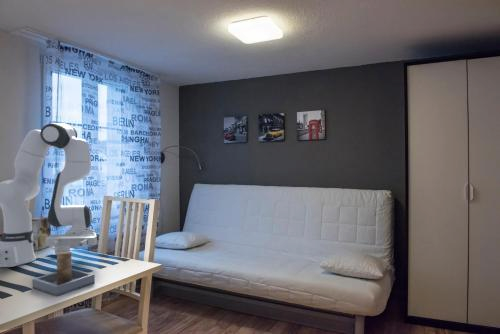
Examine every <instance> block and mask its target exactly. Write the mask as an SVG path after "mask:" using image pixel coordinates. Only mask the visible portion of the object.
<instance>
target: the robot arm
mask: <svg viewBox="0 0 500 334" xmlns="http://www.w3.org/2000/svg"><path fill="white" fill-rule="evenodd" d="M51 147H54V148H57V149H62V150H63V151H64V155H65V156H64V162H65V163H64V166H63V169H62V170H61V171H60V172H58V174H57V175H56V179H55V182H54V187H53V189H52V197H51V200H50V206H49V210H48V212H47V215H46V216H47V220H48V223H49V224H50V226H52V227H54V228H58V227H59V228H60V227H67V226H68V227H69V226H71V227H69V228H68V230H67V231H66V232H65V233H64V234H51V236H49V237H47V238H46V246H49V247H50V246H53V247H54V246H55V247H59V246H69V247H70V248H77V247H84V246H95V245H97V242H98V240H97V239H98V234H97V233H96V230H95V229H90V228H89V227H90V226H91V225H92V218H93V217H92V210H91V209H90V208H89V207H88V205H85V204H81V205H80V204H77V205H75V204H74V205H63V204H62V201H63V195H64V191H65V187H67V186H68V185H69V184H72V183H75V182H78V181H81V180H83V179H84V178H86V177H87V176H88V175H89V174H90V173H91V166H92V163H91V162H92V161H91V160H92V157H91V149H90V144H89V141H87V140H86V139H83V138H80V137H79V138H78V132H77V129H75V128H74V126H72V125H70V124H67V123H63V122H50V123H47V124H45V125H44V126H42V128H41V129H32V130H29V131H28V132H27V134H26V135H25V137H24V139H23V140H22V142H21V144H20V147H19V149H18V152H17V154H16V157H15V159H14V161H13V162H14V163H13V166H14V168H15V172H14V178H12V179H8V180H7V179H6V180H3V181H1V182H0V209H1V212H2V216H3V217H2V218H3V231H2V232H1V233H0V268H12V267H17V266H19V265H24V264H28V263H31V262H33V261H35V260H36V259H37V257H36V253H35V250H34V249H33V230H32V219H33V217H32V216H33V214H32V213H31V211H29V209H28V206H27V201H29V200H32V199H34V198H35V197H36V196H38V195H39V193H40V191H41V187H40V184H39V180H40V174H41V170H42V167H43V165H44V162H45V159H46V156H47V154H48V152H49V149H50V148H51Z"/></svg>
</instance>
